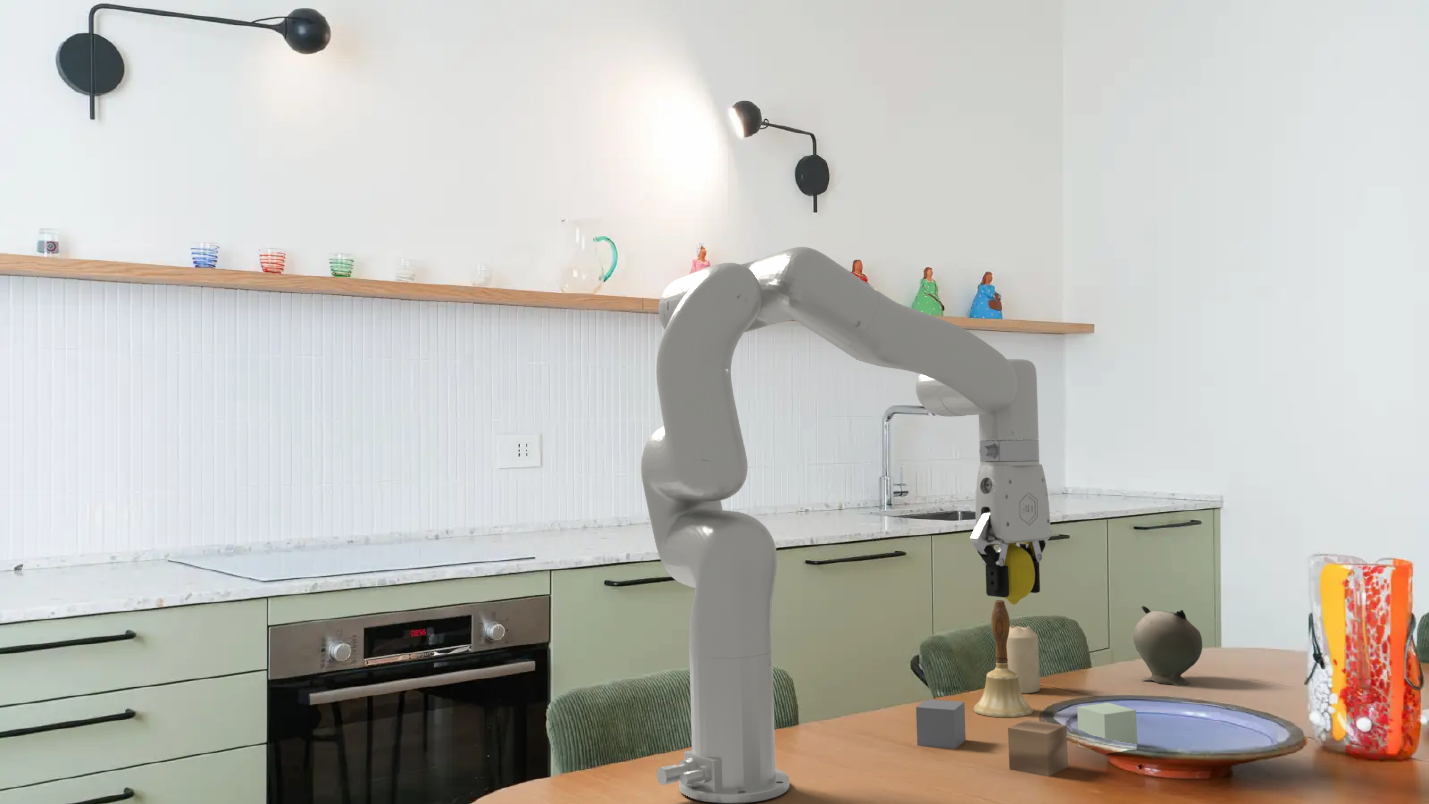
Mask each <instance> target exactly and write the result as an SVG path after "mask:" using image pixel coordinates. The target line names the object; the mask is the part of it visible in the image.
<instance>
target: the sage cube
mask: <svg viewBox="0 0 1429 804" xmlns="http://www.w3.org/2000/svg"><path fill="white" fill-rule="evenodd" d="M1076 708H1077V709H1076V711H1077V712H1076V713H1077V730H1078V729H1079V730H1082V731H1084V732H1086V733H1088V734H1090V735H1093V736H1098V737H1102V738H1106V739H1112V740H1117V741H1120V742H1126V743H1132V744H1137V745H1138V730H1137V729H1138V728H1137V726H1138V725H1137V710H1136V709H1133V708H1130V707H1126V706H1122V705H1118V704H1114V703H1112V702H1111V703H1110V702H1103V703H1096V704H1089V705H1088V704H1087V705H1081V706H1076ZM1078 746H1079V747H1080V748H1081V747H1082V746H1080V745H1079V744H1078ZM1082 748H1083V747H1082Z"/></svg>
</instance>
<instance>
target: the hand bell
mask: <svg viewBox="0 0 1429 804" xmlns="http://www.w3.org/2000/svg"><path fill="white" fill-rule="evenodd" d="M990 622H991V623H990V626H991V632H992V635H993V639H994V643H995V657H996V658H995V668H994V669H993V670H991V671H988V672H987V673H986V676H985V677H986V678H985V686H984V690H983V693H982V695H981V698H980V699H979V700H978V702H977V703H976V704H975V705H974V707H973V711H974V712H975V713H976V714H979V715H981V716H982V715H983V716H987V717H992V718H1003V719H1005V718H1022V717H1026V716H1030V715H1032V714H1033V712H1034V710H1033V709H1032V707H1031V706H1030V705H1029V704H1028V702H1026V701H1027V700H1025V698H1024V696H1023V693H1021V690H1020V686H1019V681H1018V675H1017V674H1016V673H1014V672H1012V671H1011V670H1010V669H1009V668H1008V659H1007V639H1008V635H1009V628H1010V625H1011V624H1010V616H1009V612H1008V610H1007V606H1006V604H1005V600H1003V599H997V600H995V601H994V606H993V609H992V613H991V619H990Z"/></svg>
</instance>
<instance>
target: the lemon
mask: <svg viewBox="0 0 1429 804" xmlns="http://www.w3.org/2000/svg"><path fill="white" fill-rule="evenodd" d="M1004 565H1005V566H1008V574H1009V596H1008V597H1003V598H1004V599H1006V600H1007V601H1008V603H1009V604H1011V605H1017V604H1018V603H1019V601H1020V600H1022V599H1024V598H1026V597H1027V596H1029V594H1031V593H1030V592H1031V590H1032V588H1033V586H1034V581H1035V570H1034V565H1033V561H1032V558H1031V556H1030V555H1029V553H1028V552H1027V551H1026V550H1024V549H1023V548H1021V547H1019V546H1017V545H1016V543H1008V548H1007V553H1006V559H1005V563H1004Z"/></svg>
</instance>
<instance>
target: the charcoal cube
mask: <svg viewBox="0 0 1429 804" xmlns="http://www.w3.org/2000/svg"><path fill="white" fill-rule="evenodd" d="M965 710H966V708H965V702H964V701H958V700H957V701H956V700H944V699H943V700H940V699H930V698H928V699H927V698H926V700H924V701H922V703H920V704H919V705H917V706H915V711H916V712H915V713H916V715H915V716H916V745H917V746H918V747H919V746H920V747H928V748H930V747H931V748H941V749H950V750H952V749H953V750H956V749H957V748H958V747H960V746H961V745H962V744H963V743H964V742H966V740H967V739H966V738H967V737H966V735H967V734H966V711H965Z"/></svg>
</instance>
